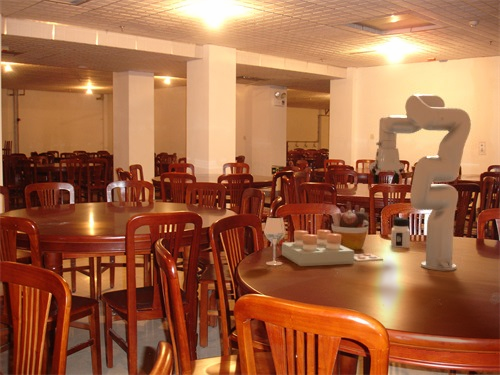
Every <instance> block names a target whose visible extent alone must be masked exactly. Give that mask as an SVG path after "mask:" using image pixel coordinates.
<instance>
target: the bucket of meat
mask: <svg viewBox="0 0 500 375" xmlns="http://www.w3.org/2000/svg"><path fill="white" fill-rule="evenodd" d="M345 206H346V209H345V207H344V206H340V208H339V211H340V212H338V211H337V212H334V213H331V217H332V222H333V223H331V224H330V225H331V229H332V230H331V232H332V234H340V235H341V243H340V245H342V246H344V247H346V248H349V249H351V250H353V251H359V250H362V248H364V245H365V241H366V239H367V238H366V237H367V234H368V230H369V224H370V223H369V214H368V213H365V208H364V207H360V206H359V205H357V204H356V205H355V206H354V212H352V211H353V210H352V204H351V202H350V201H347V202H346V205H345Z"/></svg>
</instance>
